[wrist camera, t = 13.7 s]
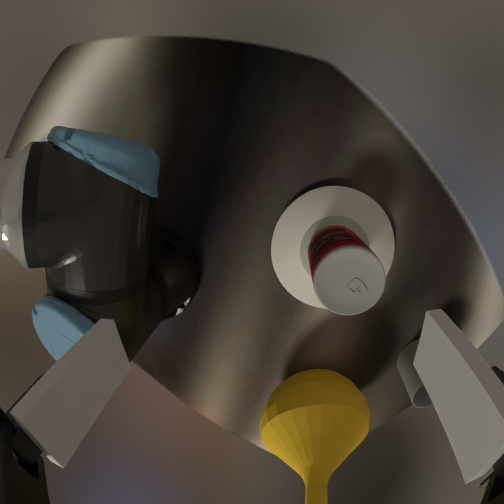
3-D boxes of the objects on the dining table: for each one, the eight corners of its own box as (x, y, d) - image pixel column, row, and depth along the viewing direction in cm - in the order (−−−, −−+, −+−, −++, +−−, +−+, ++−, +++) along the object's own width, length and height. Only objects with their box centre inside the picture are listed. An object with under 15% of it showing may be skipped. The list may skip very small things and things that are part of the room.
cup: (417, 331, 40) (439, 366, 31) (442, 346, 41) (463, 378, 31) (388, 365, 43) (402, 402, 34) (414, 376, 43) (429, 411, 34)
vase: (245, 386, 48) (211, 527, 20) (318, 332, 43) (333, 508, 14) (308, 425, 50) (305, 546, 22) (378, 382, 45) (411, 516, 16)
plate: (276, 308, 42) (275, 312, 41) (265, 189, 37) (265, 190, 36) (387, 299, 39) (390, 303, 38) (391, 183, 34) (395, 184, 33)
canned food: (348, 284, 38) (366, 324, 28) (298, 266, 38) (301, 302, 28) (370, 236, 36) (398, 262, 25) (318, 215, 36) (330, 234, 25)
